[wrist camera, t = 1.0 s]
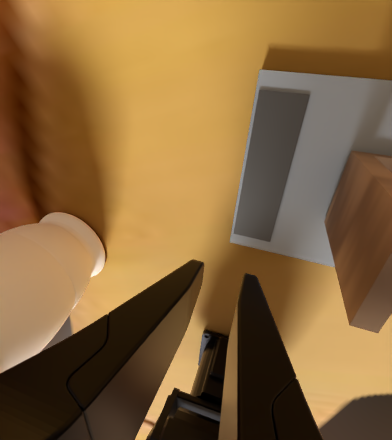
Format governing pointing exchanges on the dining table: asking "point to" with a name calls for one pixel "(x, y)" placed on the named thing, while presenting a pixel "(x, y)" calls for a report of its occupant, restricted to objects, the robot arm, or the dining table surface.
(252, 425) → the robot arm
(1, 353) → the jar
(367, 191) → the wooden block
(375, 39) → the dining table surface
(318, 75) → the bridge deck
